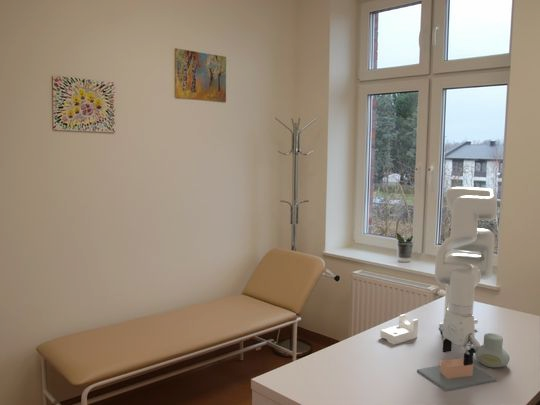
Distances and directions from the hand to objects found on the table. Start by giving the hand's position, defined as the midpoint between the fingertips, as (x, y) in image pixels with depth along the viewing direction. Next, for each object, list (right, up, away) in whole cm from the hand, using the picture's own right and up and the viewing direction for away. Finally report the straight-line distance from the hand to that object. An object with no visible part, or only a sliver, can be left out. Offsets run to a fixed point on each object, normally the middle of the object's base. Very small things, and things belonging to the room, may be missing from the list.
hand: (457, 358), depth 163 cm
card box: (0, -5, 0) cm, 5 cm away
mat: (0, -6, 0) cm, 6 cm away
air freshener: (+15, -5, +10) cm, 19 cm away
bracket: (-11, -2, +31) cm, 33 cm away
